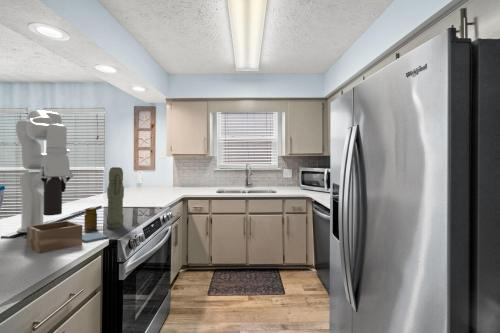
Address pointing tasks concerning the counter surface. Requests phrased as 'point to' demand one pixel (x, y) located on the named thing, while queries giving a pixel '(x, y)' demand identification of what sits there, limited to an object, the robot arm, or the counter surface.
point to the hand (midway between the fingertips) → (55, 191)
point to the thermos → (115, 198)
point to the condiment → (91, 220)
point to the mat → (93, 237)
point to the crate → (54, 236)
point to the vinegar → (53, 197)
